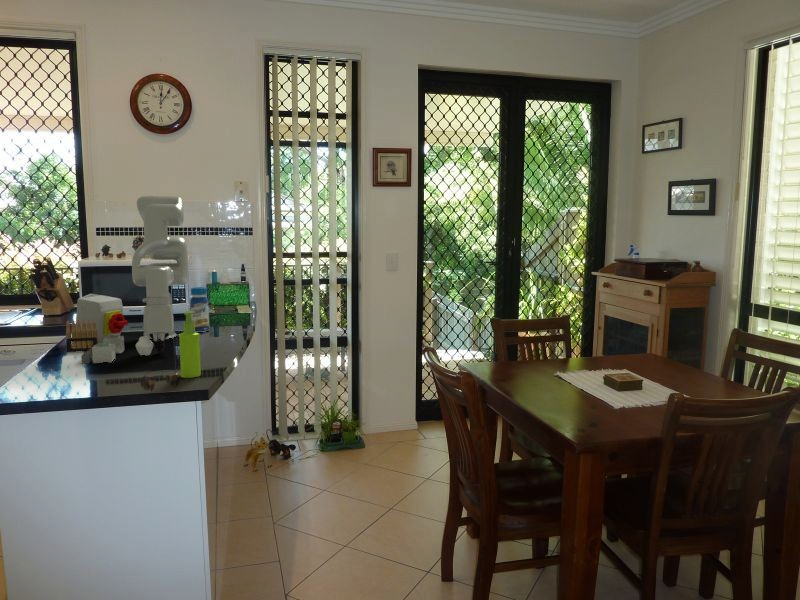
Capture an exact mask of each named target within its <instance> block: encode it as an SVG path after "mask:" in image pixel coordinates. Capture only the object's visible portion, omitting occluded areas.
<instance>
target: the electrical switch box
mask: <svg viewBox="0 0 800 600" xmlns="http://www.w3.org/2000/svg"><path fill="white" fill-rule="evenodd" d="M123 311H124V307H123V302H122V299H121V298H119V297H113V296H108V295H102V294H96V293H89V294H86V295H84V296H82V297H79V298H78V299H77V303H76V317H75V328H76V337H77V321H78V320H79V322H80V327H81V334H82V321H83V319H84V321H85V326H86V332H87V322H88V319H89V320H90V324H91V330H92V327H93V319H94V320H95V322H96V329H97V339H98V343H103V339H104V338H105V337H107V336H108V335H120V336H121V333H122V330H123V329H124V327H125V326H128V325H129V320H126V319H125V318H126V317H125V316H124V314H123ZM92 344H93V341H92ZM87 345H88V343H87Z"/></svg>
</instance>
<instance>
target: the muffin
mask: <svg viewBox="0 0 800 600" xmlns="http://www.w3.org/2000/svg"><path fill="white" fill-rule="evenodd" d="M154 347H155V343H154V342H152V340H150V338H149V337H147V336H144V335H143V336H140V337H139V338H138V341H137V342H136V344H135V348H136V351H137V352H138V354H139V355H140V356H142V355H145V356H150V355H151V353H152V350H153V349H154Z"/></svg>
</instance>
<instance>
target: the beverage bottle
mask: <svg viewBox="0 0 800 600" xmlns="http://www.w3.org/2000/svg"><path fill="white" fill-rule="evenodd" d="M207 290H208V289H207V287H205V286H196V287H191V288H190V295H191V296H192V297H191V298H190V301H189V305H190V307H189V311H195V313H192V321H193V322H194V323H195V331H205V330H209V329H210V330H211V328H210V306H209V303H210V302H209V299H208V297H207V296H206V295H207V293H208V291H207Z"/></svg>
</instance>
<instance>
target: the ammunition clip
mask: <svg viewBox="0 0 800 600" xmlns="http://www.w3.org/2000/svg"><path fill="white" fill-rule="evenodd" d="M70 324H71V325H70ZM65 330H66V331H65V335H66V336H65V337H66V343H65V345H66V346H65V347H66V348H65V349H66V351H65V352H66V353H74V352H75V353H77V352H76V351H82V352H86V351H88V350H89V349H90V348H92V347H93V346H94V345H96V344H97V343H98V339H97V329H96V322H95V320H94V319H93V327H92V330H91V324H90V320H89V319H88V322H87V332H86V326H85V321H84V319H83V321H82V334H81V327H80V322H79V320H78V321H77V337H76V321H75V320H74V319H72V321H71V323H70V321H69V320H67V321H66V329H65ZM92 341H93V344H92ZM87 343H88V344H87Z"/></svg>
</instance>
